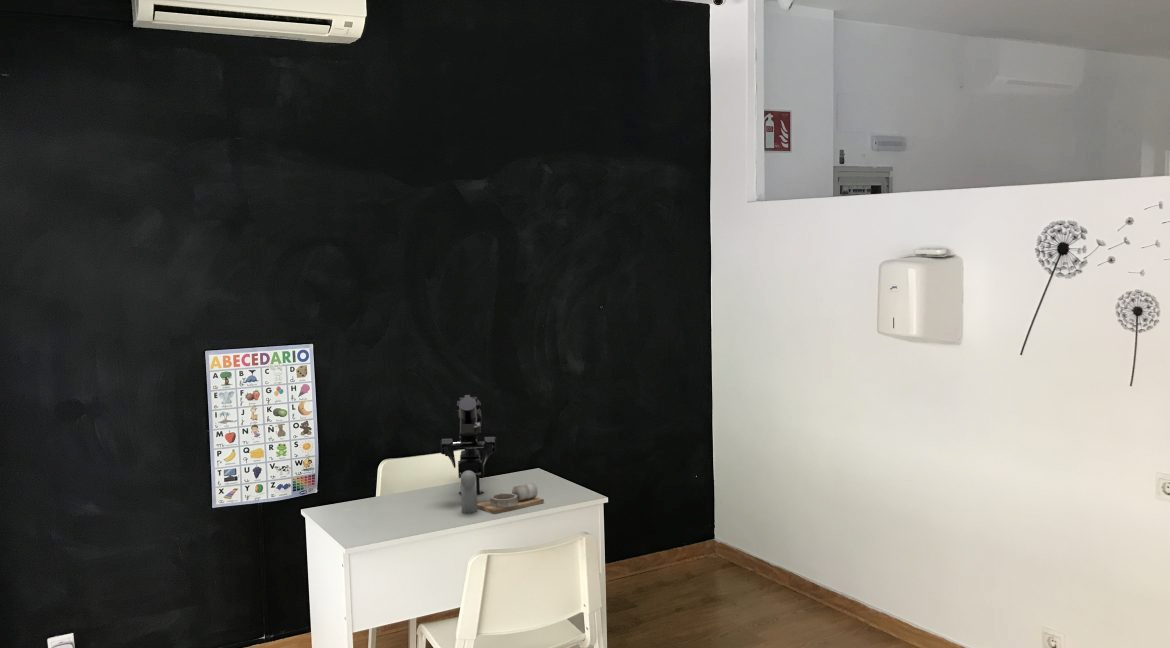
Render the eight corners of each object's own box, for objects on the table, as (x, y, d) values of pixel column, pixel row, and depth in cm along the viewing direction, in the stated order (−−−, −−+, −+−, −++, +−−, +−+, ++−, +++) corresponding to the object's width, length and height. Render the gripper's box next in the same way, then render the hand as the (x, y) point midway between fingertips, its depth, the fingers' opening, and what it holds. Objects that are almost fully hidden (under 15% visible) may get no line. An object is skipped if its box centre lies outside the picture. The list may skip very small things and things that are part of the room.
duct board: (474, 507, 300) (473, 488, 300) (523, 496, 313) (522, 479, 312) (494, 514, 291) (493, 495, 291) (543, 502, 304) (543, 484, 303)
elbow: (461, 509, 297) (460, 469, 296) (477, 509, 298) (476, 468, 297) (461, 515, 290) (459, 474, 289) (476, 514, 291) (475, 473, 290)
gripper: (439, 415, 303) (438, 454, 293) (495, 413, 305) (496, 451, 295) (441, 434, 311) (440, 473, 301) (496, 432, 313) (497, 470, 303)
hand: (468, 466), depth 300 cm, fingers open, 9 cm apart
